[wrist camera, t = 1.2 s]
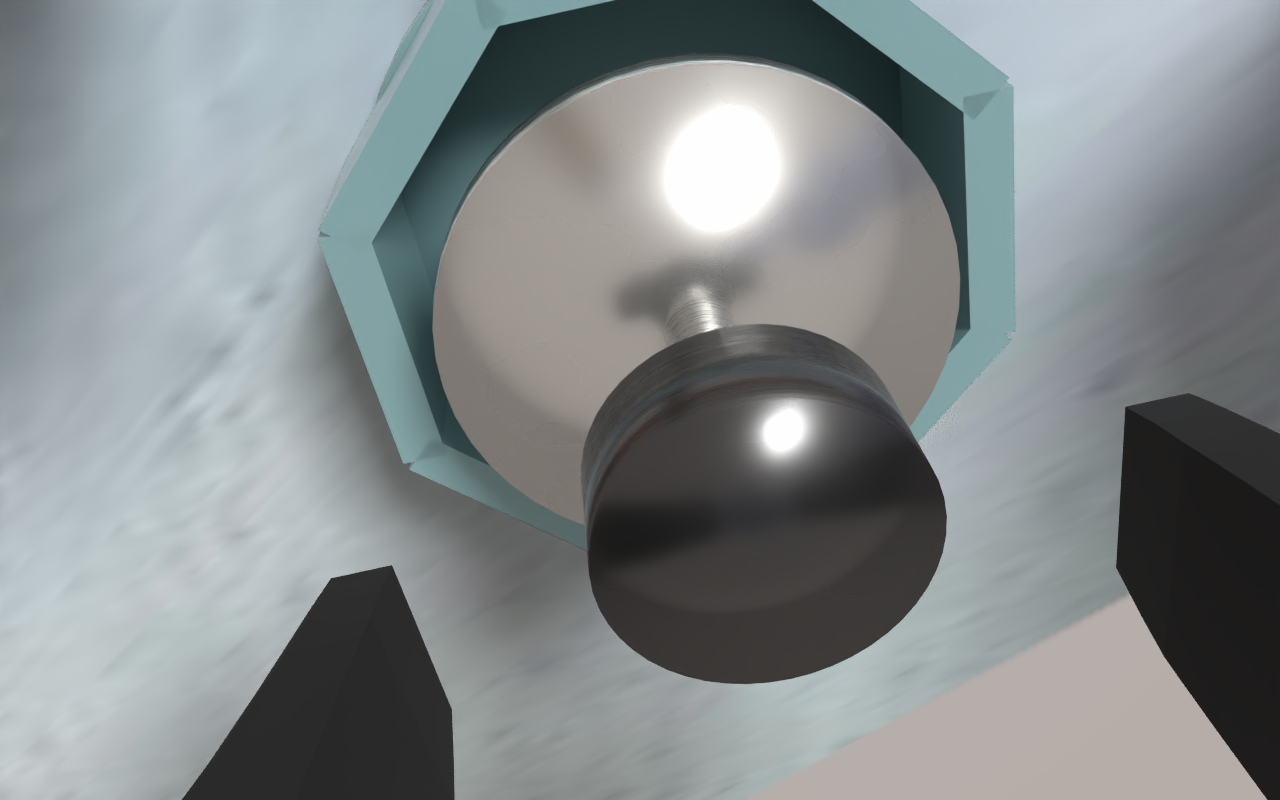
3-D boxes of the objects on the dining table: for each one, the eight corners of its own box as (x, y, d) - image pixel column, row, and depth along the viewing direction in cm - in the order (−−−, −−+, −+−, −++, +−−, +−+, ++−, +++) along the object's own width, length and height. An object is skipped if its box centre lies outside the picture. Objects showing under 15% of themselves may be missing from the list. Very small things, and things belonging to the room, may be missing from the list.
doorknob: (933, -4, 13) (1145, 130, 9) (954, 462, 17) (1110, 721, 13) (363, 122, 13) (287, 317, 9) (509, 557, 17) (508, 848, 13)
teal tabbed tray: (912, -364, 15) (1019, -390, 12) (946, 372, 22) (1021, 483, 19) (222, -206, 15) (144, -189, 12) (460, 477, 22) (450, 605, 19)
